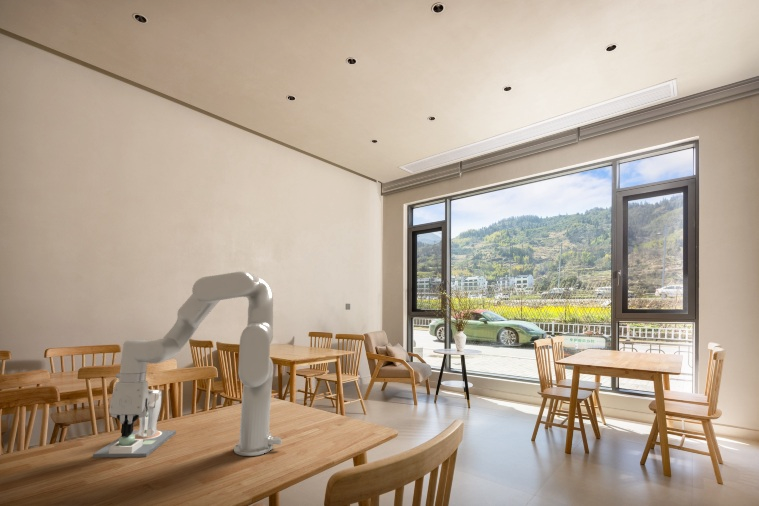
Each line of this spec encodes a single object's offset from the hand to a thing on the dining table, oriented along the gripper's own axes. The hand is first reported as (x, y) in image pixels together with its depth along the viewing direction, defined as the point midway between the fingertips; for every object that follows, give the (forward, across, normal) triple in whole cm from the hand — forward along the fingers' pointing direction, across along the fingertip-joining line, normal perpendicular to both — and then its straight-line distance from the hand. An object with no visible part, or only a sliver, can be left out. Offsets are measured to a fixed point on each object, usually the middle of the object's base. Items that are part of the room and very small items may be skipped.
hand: (126, 435), depth 127 cm
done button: (+2, 0, 0) cm, 2 cm away
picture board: (+5, 0, +8) cm, 9 cm away
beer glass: (+4, 0, +13) cm, 14 cm away
